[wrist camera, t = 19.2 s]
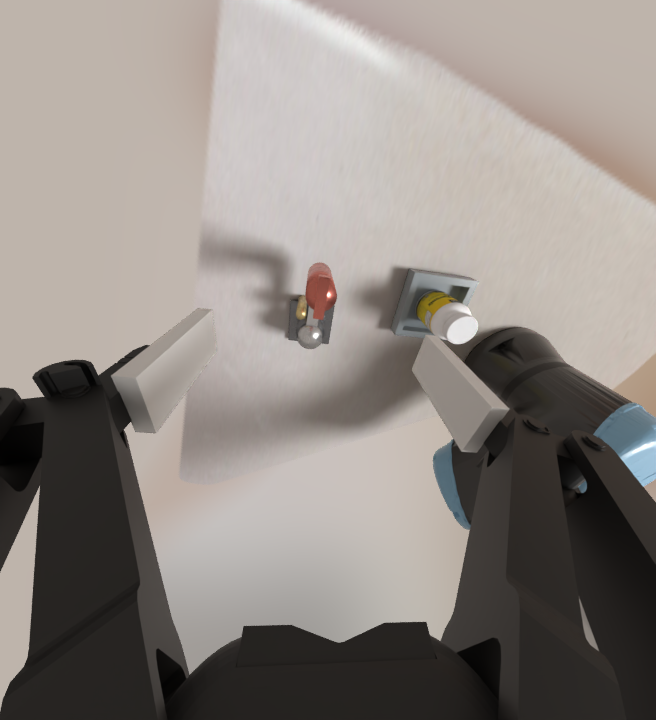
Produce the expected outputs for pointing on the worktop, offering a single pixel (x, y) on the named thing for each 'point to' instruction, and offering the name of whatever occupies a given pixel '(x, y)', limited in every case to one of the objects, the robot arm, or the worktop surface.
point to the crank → (317, 304)
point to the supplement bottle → (446, 317)
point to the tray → (419, 285)
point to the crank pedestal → (300, 317)
